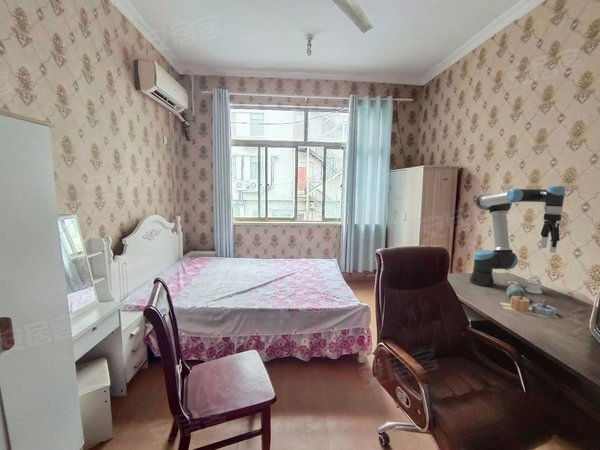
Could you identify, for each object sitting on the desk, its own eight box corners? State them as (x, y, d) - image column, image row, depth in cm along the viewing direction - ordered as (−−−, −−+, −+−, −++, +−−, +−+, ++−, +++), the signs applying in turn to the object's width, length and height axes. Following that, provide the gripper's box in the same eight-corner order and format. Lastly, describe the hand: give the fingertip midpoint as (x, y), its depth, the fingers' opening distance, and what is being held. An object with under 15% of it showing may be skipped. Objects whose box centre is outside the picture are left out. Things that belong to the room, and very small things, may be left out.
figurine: (521, 287, 203) (523, 272, 202) (538, 289, 200) (540, 274, 198) (527, 293, 192) (529, 277, 191) (544, 295, 189) (546, 279, 187)
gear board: (499, 303, 175) (500, 290, 174) (549, 310, 166) (551, 297, 165) (505, 312, 163) (506, 299, 162) (559, 320, 154) (561, 306, 152)
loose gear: (508, 304, 171) (509, 294, 170) (525, 307, 168) (526, 297, 167) (512, 310, 164) (513, 300, 163) (530, 312, 161) (531, 302, 160)
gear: (528, 306, 168) (529, 301, 168) (551, 310, 165) (552, 305, 164) (534, 314, 159) (535, 309, 159) (559, 317, 155) (559, 312, 155)
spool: (529, 299, 172) (521, 283, 176) (510, 303, 177) (503, 287, 180) (528, 298, 183) (520, 282, 187) (510, 302, 188) (503, 286, 191)
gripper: (537, 211, 180) (532, 245, 183) (553, 215, 157) (547, 254, 160) (552, 211, 177) (547, 246, 180) (571, 216, 154) (565, 255, 158)
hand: (547, 250), depth 170 cm, fingers open, 13 cm apart
